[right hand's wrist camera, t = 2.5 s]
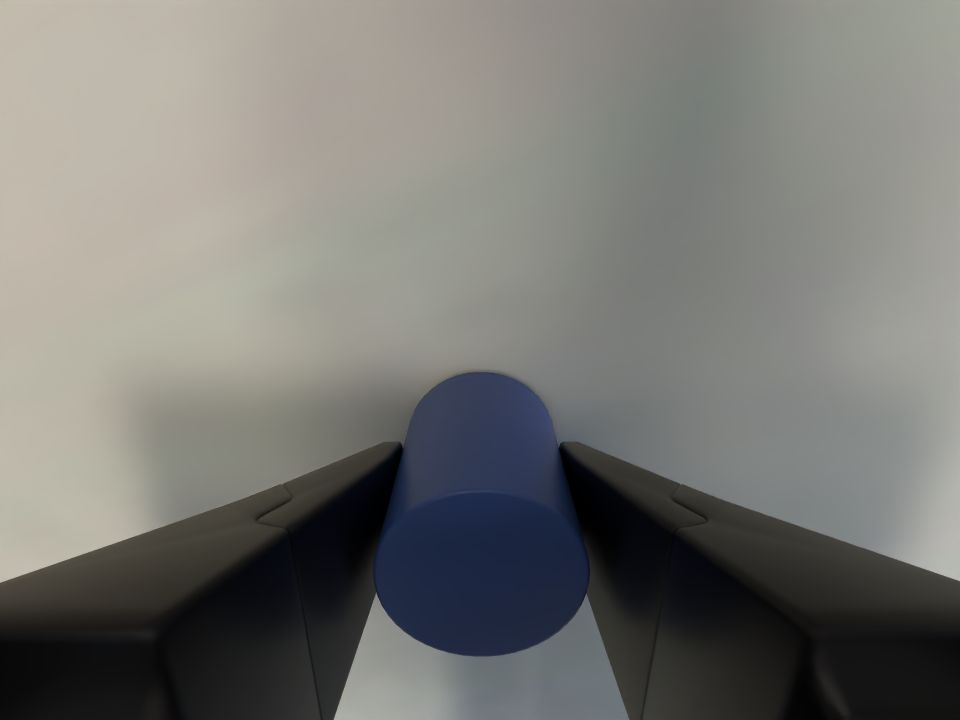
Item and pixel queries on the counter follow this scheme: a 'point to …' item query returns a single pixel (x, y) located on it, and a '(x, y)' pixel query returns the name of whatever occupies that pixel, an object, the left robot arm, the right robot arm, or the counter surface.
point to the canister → (481, 523)
